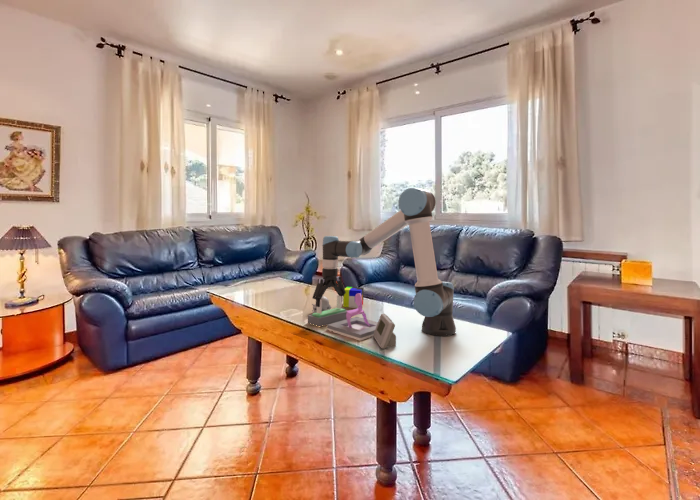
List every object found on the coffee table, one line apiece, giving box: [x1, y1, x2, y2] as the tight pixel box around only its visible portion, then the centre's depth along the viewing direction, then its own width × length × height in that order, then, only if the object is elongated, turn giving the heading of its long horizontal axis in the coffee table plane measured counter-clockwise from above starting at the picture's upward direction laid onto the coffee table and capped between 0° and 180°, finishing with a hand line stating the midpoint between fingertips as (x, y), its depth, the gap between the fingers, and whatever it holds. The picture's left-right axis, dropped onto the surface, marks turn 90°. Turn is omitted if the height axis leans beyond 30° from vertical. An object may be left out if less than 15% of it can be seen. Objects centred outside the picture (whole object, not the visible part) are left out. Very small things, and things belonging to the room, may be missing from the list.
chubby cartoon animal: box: [311, 295, 332, 314], centre depth 198 cm, size 7×12×8 cm, turn 140°
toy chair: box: [346, 293, 370, 328], centre depth 168 cm, size 8×9×15 cm
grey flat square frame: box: [326, 316, 378, 342], centre depth 169 cm, size 20×20×2 cm
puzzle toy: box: [342, 286, 365, 309], centre depth 216 cm, size 10×10×10 cm
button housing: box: [307, 309, 349, 327], centre depth 183 cm, size 8×21×4 cm, turn 137°
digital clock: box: [372, 313, 397, 350], centre depth 152 cm, size 16×9×11 cm, turn 177°
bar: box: [312, 307, 347, 318], centre depth 183 cm, size 5×18×3 cm, turn 137°
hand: (329, 310), depth 183 cm, fingers open, 13 cm apart
